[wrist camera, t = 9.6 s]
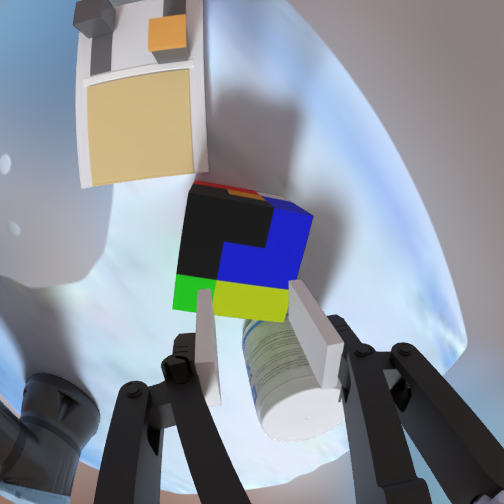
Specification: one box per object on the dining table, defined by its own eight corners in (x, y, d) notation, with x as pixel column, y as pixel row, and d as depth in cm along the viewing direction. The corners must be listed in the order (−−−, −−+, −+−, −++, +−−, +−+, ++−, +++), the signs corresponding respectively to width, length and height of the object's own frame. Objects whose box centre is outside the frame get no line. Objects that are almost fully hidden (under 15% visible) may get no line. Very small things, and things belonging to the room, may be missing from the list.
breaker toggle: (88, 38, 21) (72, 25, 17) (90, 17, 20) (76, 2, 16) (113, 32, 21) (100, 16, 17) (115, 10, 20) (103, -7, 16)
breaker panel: (88, 186, 29) (80, 189, 27) (87, 21, 22) (81, 15, 20) (208, 170, 31) (208, 172, 29) (202, 0, 24) (202, -8, 22)
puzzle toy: (283, 196, 33) (313, 215, 24) (264, 278, 36) (283, 322, 26) (194, 180, 31) (188, 192, 22) (181, 265, 34) (172, 309, 24)
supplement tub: (226, 338, 38) (237, 425, 24) (280, 292, 37) (319, 369, 23) (272, 372, 41) (297, 452, 27) (323, 333, 40) (366, 407, 26)
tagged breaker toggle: (157, 65, 24) (147, 49, 19) (157, 38, 23) (148, 19, 18) (189, 61, 24) (185, 44, 19) (189, 35, 23) (185, 14, 18)
